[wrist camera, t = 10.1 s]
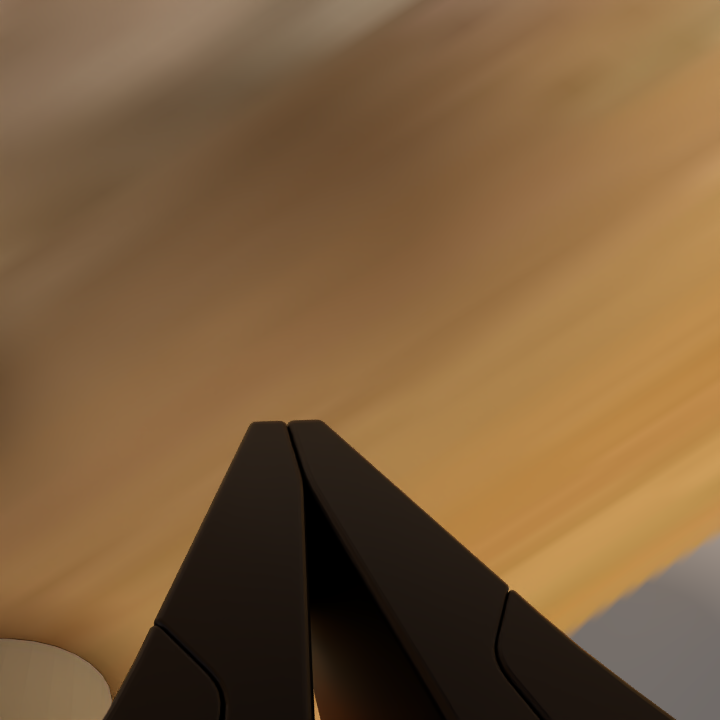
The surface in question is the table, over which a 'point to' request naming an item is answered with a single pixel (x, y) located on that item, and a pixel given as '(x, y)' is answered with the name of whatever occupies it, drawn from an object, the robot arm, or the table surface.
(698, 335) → the table surface
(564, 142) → the table surface
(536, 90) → the table surface
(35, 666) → the reusable coffee cup
